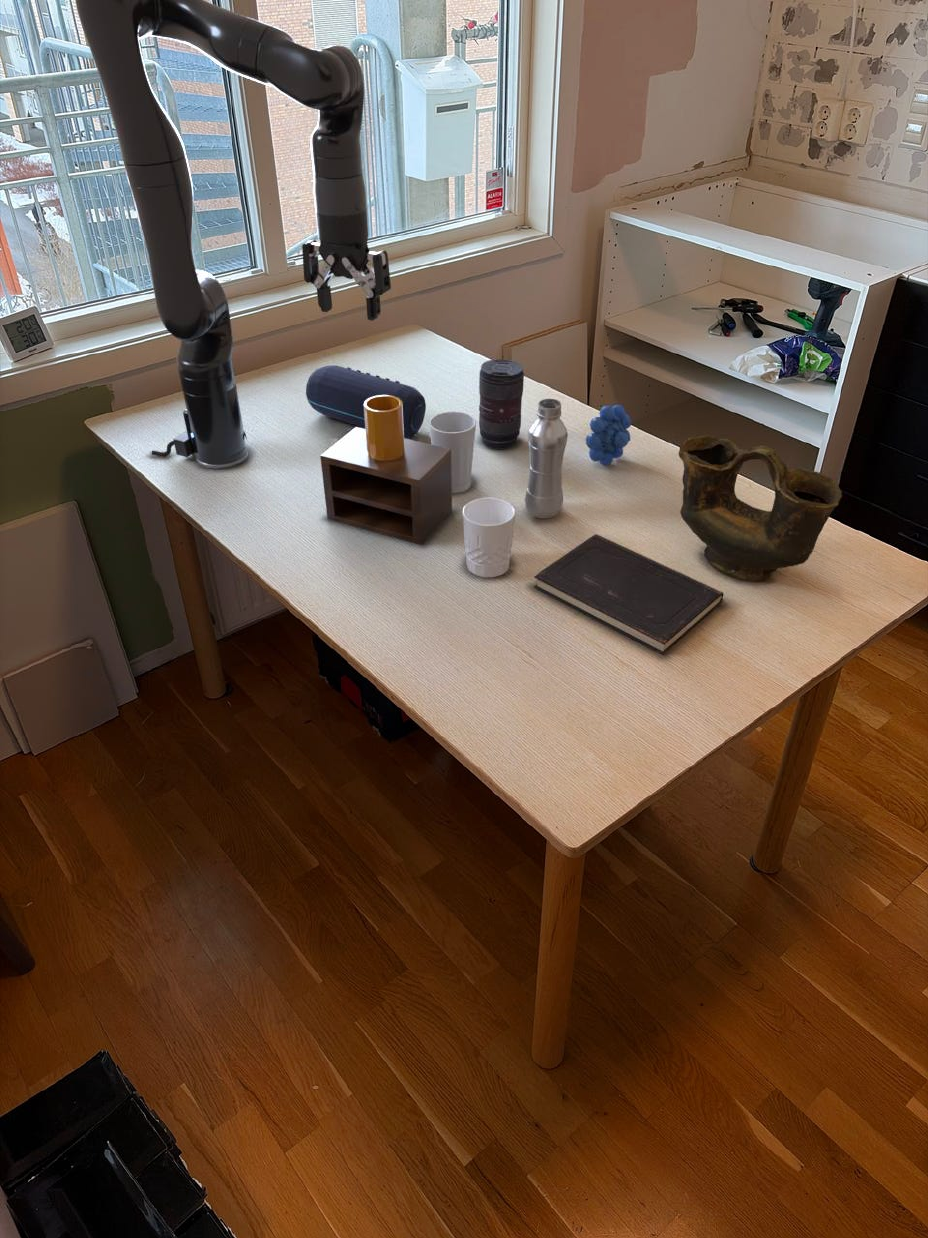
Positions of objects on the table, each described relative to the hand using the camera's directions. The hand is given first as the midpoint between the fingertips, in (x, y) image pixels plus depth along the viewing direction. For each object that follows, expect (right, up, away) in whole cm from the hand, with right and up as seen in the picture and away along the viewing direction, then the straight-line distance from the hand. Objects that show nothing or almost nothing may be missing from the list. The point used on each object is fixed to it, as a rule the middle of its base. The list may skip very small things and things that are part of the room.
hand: (349, 314), depth 146 cm
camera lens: (+25, -14, +30) cm, 42 cm away
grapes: (+45, -20, +23) cm, 54 cm away
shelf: (+6, -31, +10) cm, 33 cm away
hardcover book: (+42, -45, -7) cm, 62 cm away
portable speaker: (-1, -10, +36) cm, 37 cm away
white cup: (+22, -40, -1) cm, 46 cm away
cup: (+16, -24, +18) cm, 34 cm away
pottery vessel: (+61, -39, -1) cm, 73 cm away
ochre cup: (+6, -21, +2) cm, 22 cm away
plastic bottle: (+31, -30, +11) cm, 45 cm away
